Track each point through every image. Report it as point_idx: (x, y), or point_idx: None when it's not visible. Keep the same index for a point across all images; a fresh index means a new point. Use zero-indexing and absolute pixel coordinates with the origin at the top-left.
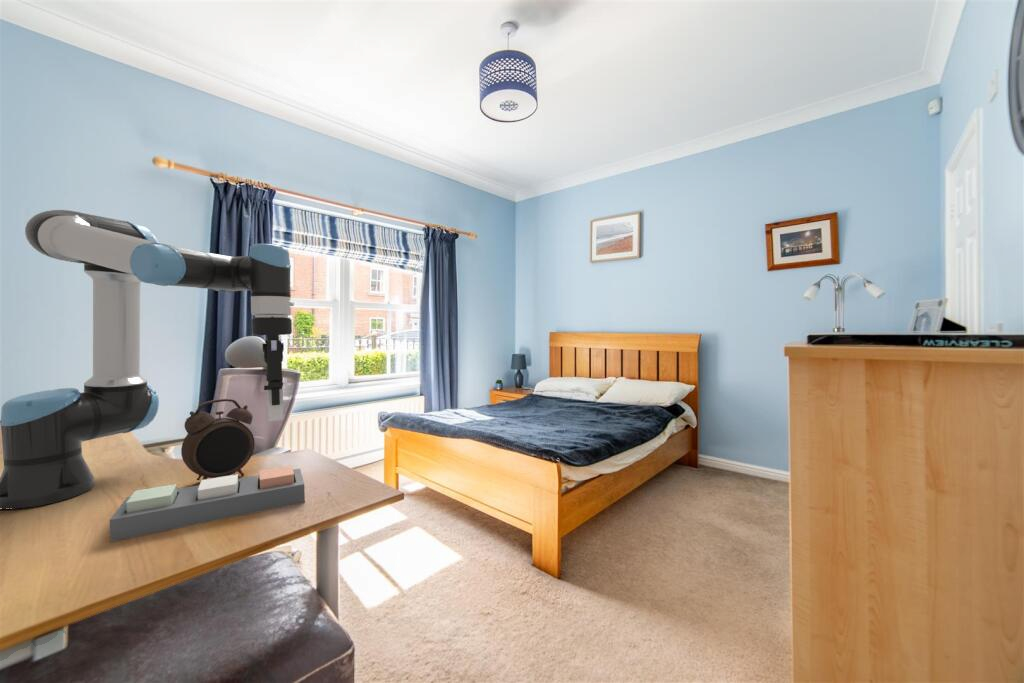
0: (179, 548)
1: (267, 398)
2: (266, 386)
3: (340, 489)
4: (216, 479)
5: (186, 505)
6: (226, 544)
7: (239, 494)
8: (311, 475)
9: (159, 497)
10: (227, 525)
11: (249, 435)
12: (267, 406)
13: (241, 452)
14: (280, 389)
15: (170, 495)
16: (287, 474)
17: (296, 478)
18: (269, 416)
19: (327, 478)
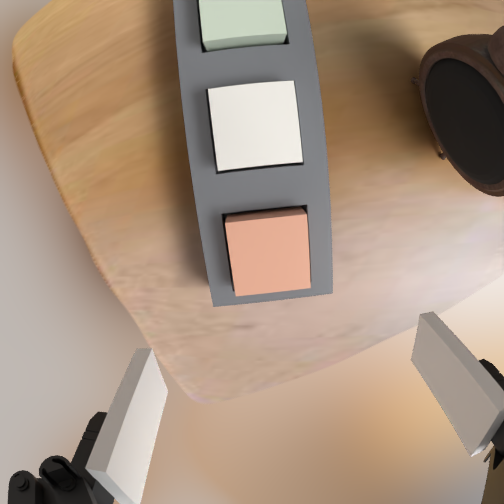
0: (102, 110)
1: (449, 351)
2: (47, 478)
3: (256, 344)
4: (280, 114)
5: (181, 80)
6: (89, 179)
7: (203, 177)
8: (370, 293)
9: (201, 24)
10: (160, 161)
11: (499, 188)
12: (429, 325)
13: (463, 161)
14: (115, 497)
15: (203, 41)
16: (239, 282)
17: None
18: (132, 365)
19: (333, 322)
